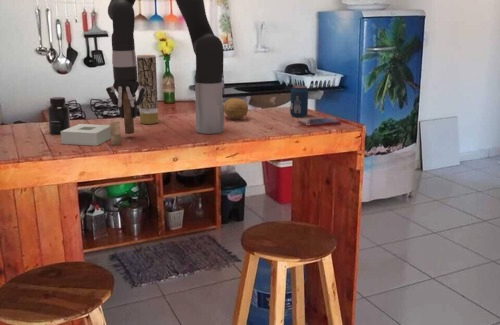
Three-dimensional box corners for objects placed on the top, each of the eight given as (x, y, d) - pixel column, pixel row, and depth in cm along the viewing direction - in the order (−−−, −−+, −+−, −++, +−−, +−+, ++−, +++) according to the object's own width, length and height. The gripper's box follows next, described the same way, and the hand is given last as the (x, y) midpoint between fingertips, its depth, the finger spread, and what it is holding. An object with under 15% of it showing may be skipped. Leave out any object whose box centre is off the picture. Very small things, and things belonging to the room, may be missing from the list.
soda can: (303, 114, 216) (304, 85, 213) (309, 117, 210) (311, 87, 207) (287, 115, 215) (288, 85, 211) (293, 118, 208) (294, 88, 205)
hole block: (113, 137, 175) (112, 125, 174) (97, 145, 164) (96, 133, 162) (80, 135, 177) (79, 123, 176) (61, 143, 166) (60, 131, 165)
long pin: (135, 132, 176) (132, 90, 172) (132, 134, 173) (129, 91, 169) (127, 131, 176) (124, 90, 172) (123, 133, 173) (120, 91, 170)
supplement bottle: (51, 135, 177) (47, 100, 174) (48, 131, 183) (45, 97, 180) (72, 133, 180) (69, 98, 177) (69, 129, 186) (66, 95, 183)
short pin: (122, 143, 167) (121, 121, 165) (118, 145, 164) (117, 123, 162) (113, 142, 167) (112, 121, 165) (109, 145, 164) (108, 123, 162)
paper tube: (154, 125, 194) (151, 56, 187) (137, 124, 195) (133, 56, 189) (161, 121, 201) (158, 54, 194) (144, 120, 202) (141, 54, 195)
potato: (242, 114, 215) (242, 95, 213) (252, 121, 202) (253, 100, 200) (219, 116, 212) (218, 96, 210) (228, 122, 199) (228, 101, 197)
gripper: (149, 63, 171) (152, 116, 175) (109, 63, 173) (113, 115, 178) (141, 66, 164) (144, 120, 168) (99, 65, 166) (103, 119, 171)
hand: (128, 117), depth 173 cm, fingers closed on long pin, 3 cm apart
